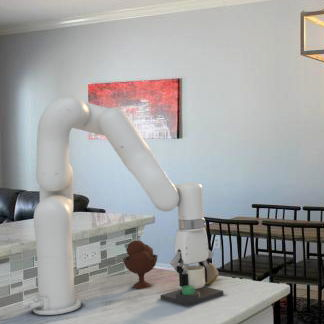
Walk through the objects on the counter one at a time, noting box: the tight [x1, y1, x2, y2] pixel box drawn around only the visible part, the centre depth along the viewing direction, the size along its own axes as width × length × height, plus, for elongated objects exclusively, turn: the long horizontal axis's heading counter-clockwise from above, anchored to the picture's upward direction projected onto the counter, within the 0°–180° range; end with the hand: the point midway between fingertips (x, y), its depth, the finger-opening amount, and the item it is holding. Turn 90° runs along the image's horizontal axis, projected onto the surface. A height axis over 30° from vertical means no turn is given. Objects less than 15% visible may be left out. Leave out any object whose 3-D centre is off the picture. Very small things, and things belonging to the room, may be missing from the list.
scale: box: [160, 286, 224, 307], centre depth 159 cm, size 15×13×3 cm
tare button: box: [181, 285, 195, 295], centre depth 153 cm, size 4×4×2 cm
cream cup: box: [186, 264, 206, 289], centre depth 162 cm, size 7×7×6 cm
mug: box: [204, 262, 219, 286], centre depth 176 cm, size 8×10×10 cm
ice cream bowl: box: [122, 240, 159, 290], centre depth 174 cm, size 11×11×15 cm
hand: (193, 283), depth 162 cm, fingers closed on cream cup, 6 cm apart
